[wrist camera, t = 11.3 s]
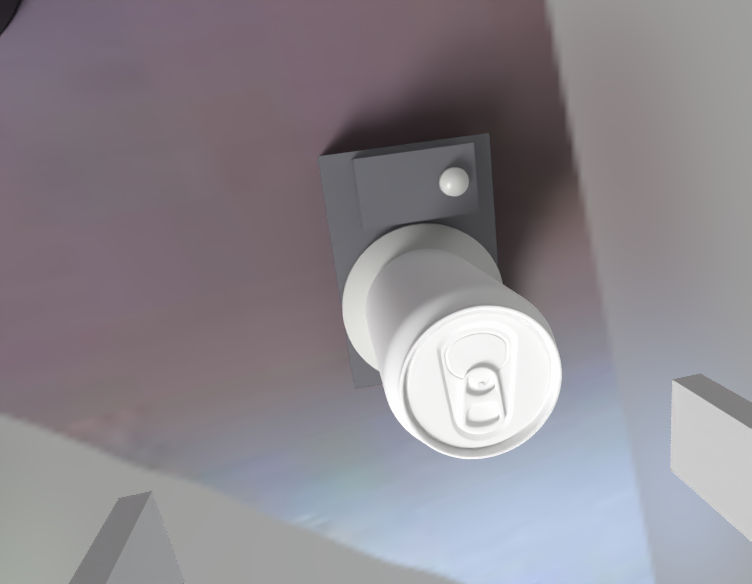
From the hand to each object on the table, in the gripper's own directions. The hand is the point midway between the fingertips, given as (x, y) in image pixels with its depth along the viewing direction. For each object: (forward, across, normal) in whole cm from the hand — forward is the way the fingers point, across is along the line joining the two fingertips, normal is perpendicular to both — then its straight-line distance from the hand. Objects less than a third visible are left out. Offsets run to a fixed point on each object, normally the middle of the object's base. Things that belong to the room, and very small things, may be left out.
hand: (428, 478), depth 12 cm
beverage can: (+20, +4, -2) cm, 20 cm away
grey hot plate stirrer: (+24, +4, 0) cm, 25 cm away
